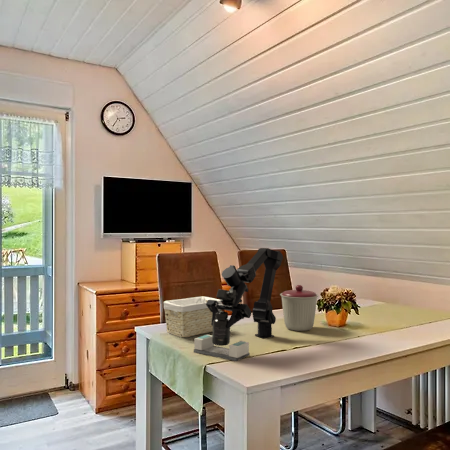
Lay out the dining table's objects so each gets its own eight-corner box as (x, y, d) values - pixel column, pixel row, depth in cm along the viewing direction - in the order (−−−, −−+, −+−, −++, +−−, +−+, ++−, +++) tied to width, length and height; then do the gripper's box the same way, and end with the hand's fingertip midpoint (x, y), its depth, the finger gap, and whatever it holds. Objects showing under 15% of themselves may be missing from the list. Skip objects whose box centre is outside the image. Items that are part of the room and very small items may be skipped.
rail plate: (193, 352, 168) (193, 349, 168) (207, 346, 175) (207, 344, 175) (236, 361, 156) (236, 358, 156) (249, 355, 164) (249, 352, 164)
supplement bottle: (213, 340, 170) (214, 309, 169) (230, 341, 169) (231, 310, 169) (211, 345, 163) (212, 313, 163) (229, 346, 162) (230, 314, 162)
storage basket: (181, 339, 187) (181, 305, 187) (161, 332, 200) (162, 300, 200) (223, 331, 202) (224, 299, 203) (203, 325, 215) (203, 295, 215)
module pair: (194, 348, 168) (194, 338, 168) (206, 344, 175) (207, 334, 175) (237, 357, 157) (237, 346, 157) (248, 352, 163) (248, 341, 163)
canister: (321, 326, 212) (322, 283, 212) (313, 335, 196) (313, 288, 196) (286, 323, 220) (286, 281, 220) (275, 330, 203) (275, 286, 203)
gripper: (208, 279, 174) (191, 311, 165) (247, 283, 164) (231, 317, 155) (219, 296, 181) (203, 327, 172) (258, 300, 170) (243, 334, 161)
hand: (219, 326), depth 165 cm, fingers closed on supplement bottle, 7 cm apart
